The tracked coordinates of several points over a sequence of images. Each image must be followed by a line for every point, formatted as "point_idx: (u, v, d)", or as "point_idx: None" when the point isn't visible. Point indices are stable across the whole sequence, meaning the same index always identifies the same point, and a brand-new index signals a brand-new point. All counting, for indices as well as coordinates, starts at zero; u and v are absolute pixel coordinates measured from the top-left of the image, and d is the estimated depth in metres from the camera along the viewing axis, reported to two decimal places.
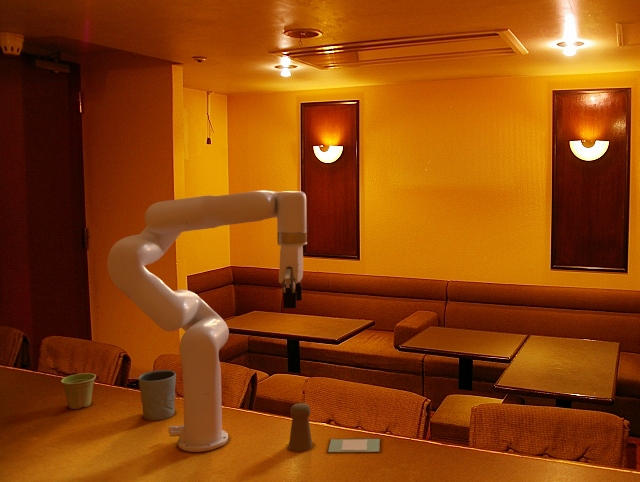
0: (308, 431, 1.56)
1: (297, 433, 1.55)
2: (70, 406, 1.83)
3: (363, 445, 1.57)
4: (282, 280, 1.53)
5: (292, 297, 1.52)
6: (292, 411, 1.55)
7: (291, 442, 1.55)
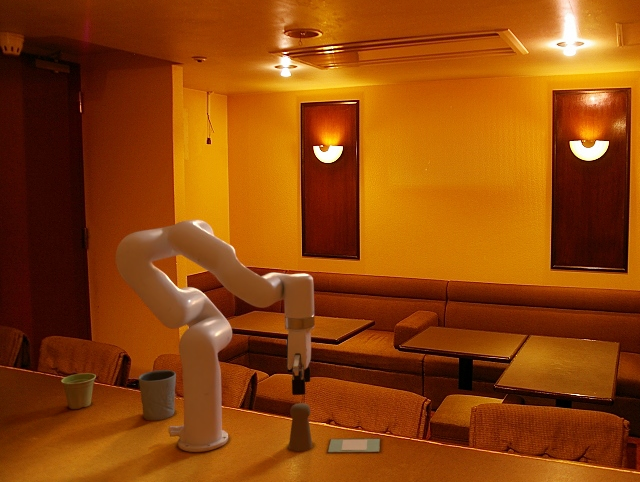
0: (308, 431, 1.56)
1: (297, 433, 1.55)
2: (70, 406, 1.83)
3: (363, 445, 1.57)
4: (290, 367, 1.51)
5: (300, 384, 1.50)
6: (292, 411, 1.55)
7: (291, 442, 1.55)
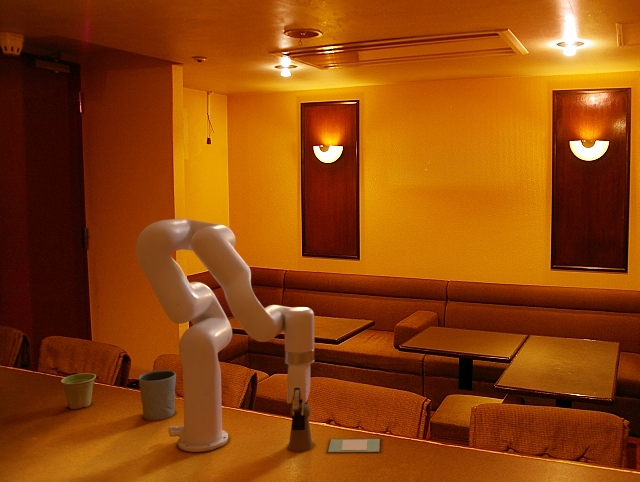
0: (308, 431, 1.56)
1: (297, 433, 1.55)
2: (70, 406, 1.83)
3: (363, 445, 1.57)
4: (290, 401, 1.51)
5: (300, 420, 1.53)
6: None
7: (291, 442, 1.55)
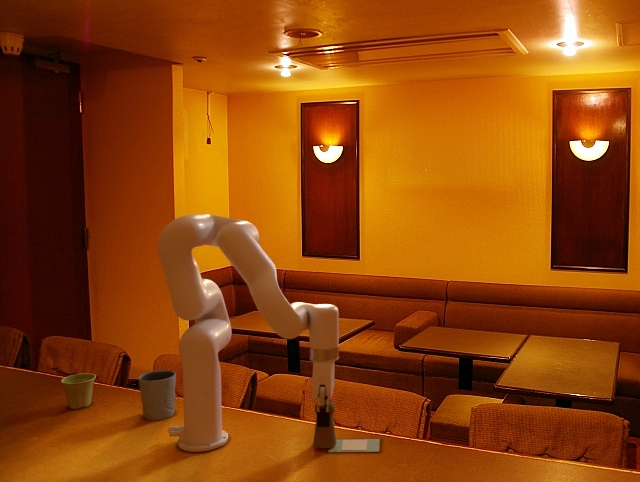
0: (332, 428, 1.56)
1: (321, 430, 1.55)
2: (70, 406, 1.83)
3: (363, 445, 1.57)
4: (315, 398, 1.51)
5: (325, 417, 1.53)
6: (317, 408, 1.55)
7: (316, 439, 1.55)
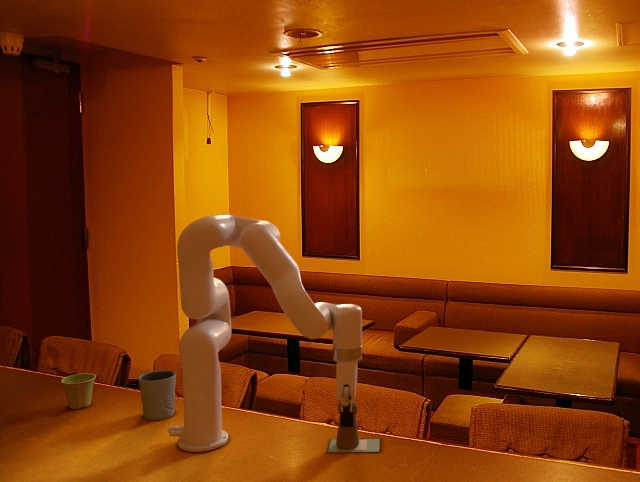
0: (355, 428, 1.56)
1: (345, 430, 1.55)
2: (70, 406, 1.83)
3: (363, 445, 1.57)
4: (339, 398, 1.52)
5: (349, 417, 1.53)
6: (340, 408, 1.55)
7: (339, 439, 1.55)
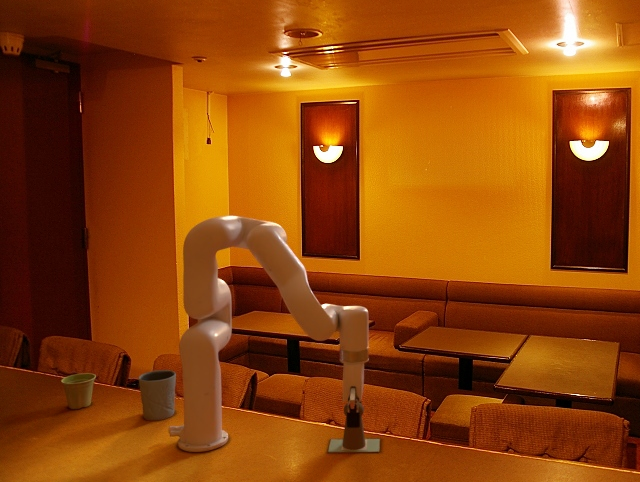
0: (362, 430, 1.56)
1: (351, 431, 1.55)
2: (70, 406, 1.83)
3: None
4: (346, 399, 1.52)
5: (355, 417, 1.51)
6: (346, 409, 1.55)
7: (345, 440, 1.55)
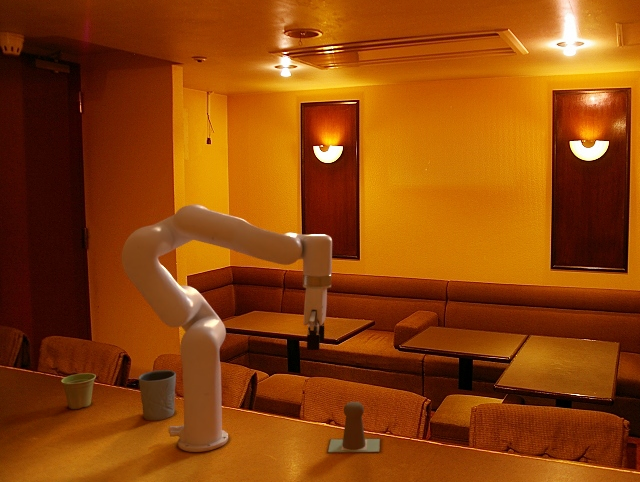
0: (362, 430, 1.56)
1: (351, 431, 1.55)
2: (70, 406, 1.83)
3: None
4: (306, 322, 1.56)
5: (315, 340, 1.56)
6: (346, 409, 1.55)
7: (345, 440, 1.55)
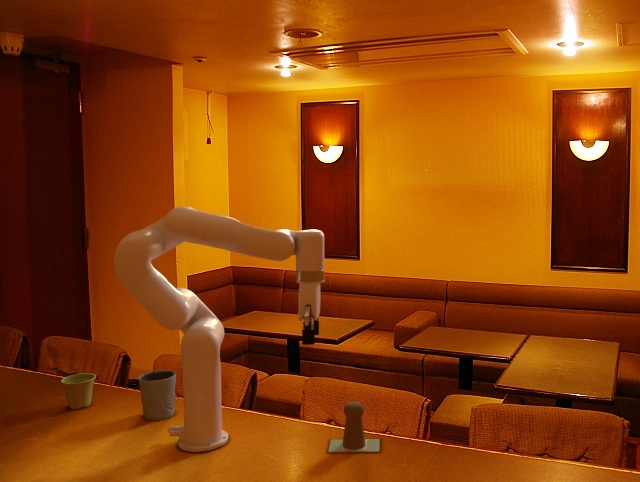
0: (362, 430, 1.56)
1: (351, 431, 1.55)
2: (70, 406, 1.83)
3: None
4: (301, 317, 1.57)
5: (310, 334, 1.57)
6: (346, 409, 1.55)
7: (345, 440, 1.55)
